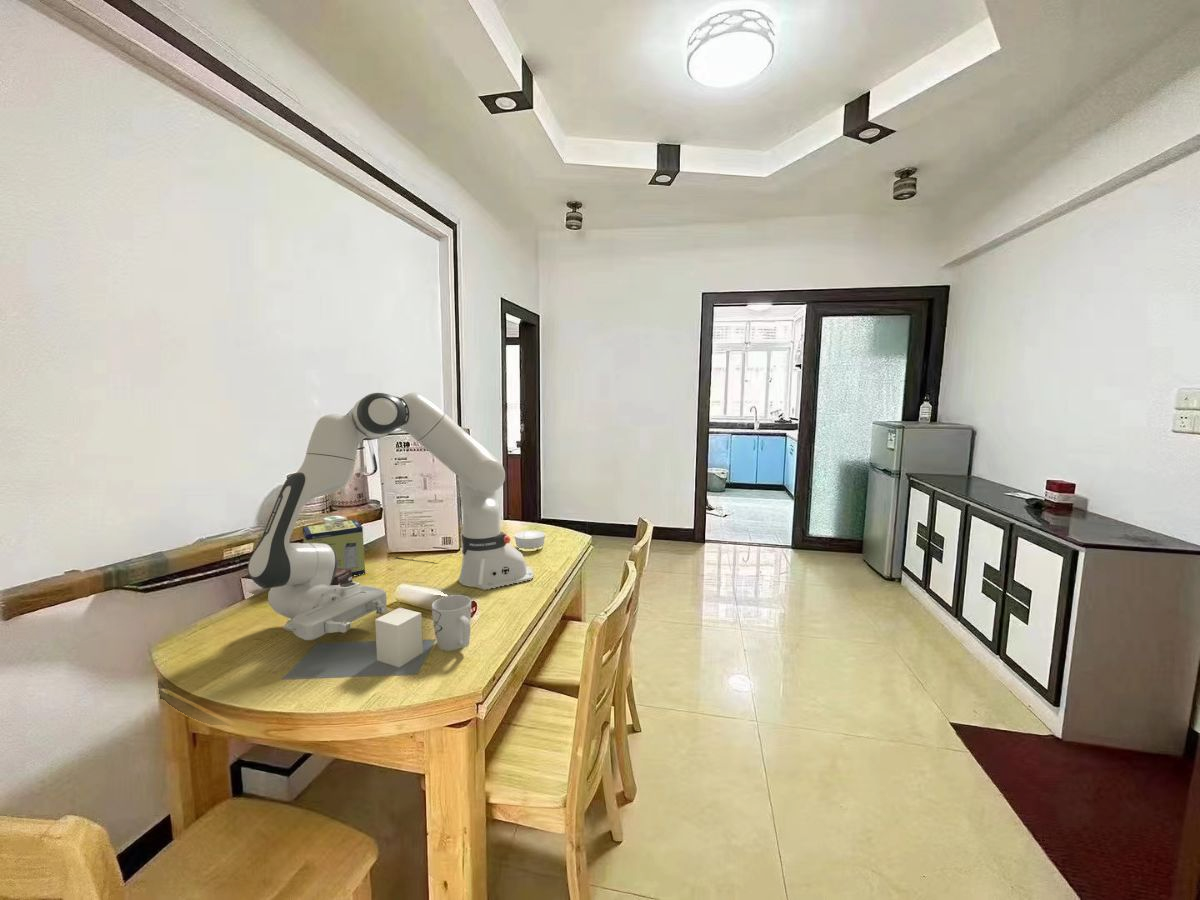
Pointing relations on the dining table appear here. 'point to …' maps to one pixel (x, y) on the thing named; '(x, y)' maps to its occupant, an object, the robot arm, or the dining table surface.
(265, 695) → the dining table surface
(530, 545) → the ramekin
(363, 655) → the slate mat
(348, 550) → the protein box
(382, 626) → the white upright block
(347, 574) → the box
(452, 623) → the mug
